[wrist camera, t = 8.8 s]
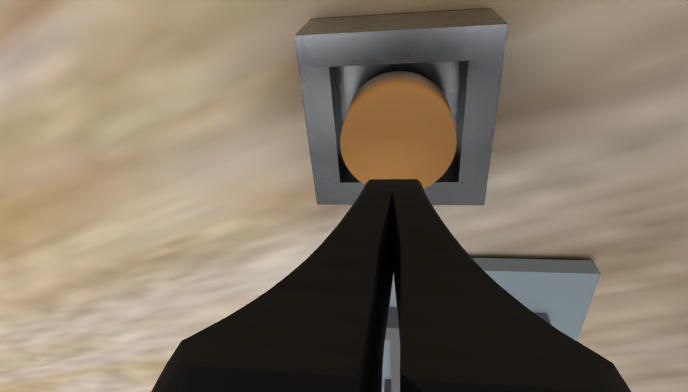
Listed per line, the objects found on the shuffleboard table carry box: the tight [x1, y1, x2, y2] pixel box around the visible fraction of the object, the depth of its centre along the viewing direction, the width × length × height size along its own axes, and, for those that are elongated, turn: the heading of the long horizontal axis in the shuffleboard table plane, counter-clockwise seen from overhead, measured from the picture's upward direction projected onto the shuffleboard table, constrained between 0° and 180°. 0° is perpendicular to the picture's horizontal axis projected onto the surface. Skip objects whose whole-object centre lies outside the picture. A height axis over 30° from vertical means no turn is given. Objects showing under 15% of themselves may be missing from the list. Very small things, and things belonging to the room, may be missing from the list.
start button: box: [340, 71, 457, 189], centre depth 15 cm, size 4×4×2 cm
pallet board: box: [382, 258, 600, 392], centre depth 25 cm, size 13×14×2 cm
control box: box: [295, 8, 508, 205], centre depth 17 cm, size 7×7×3 cm
